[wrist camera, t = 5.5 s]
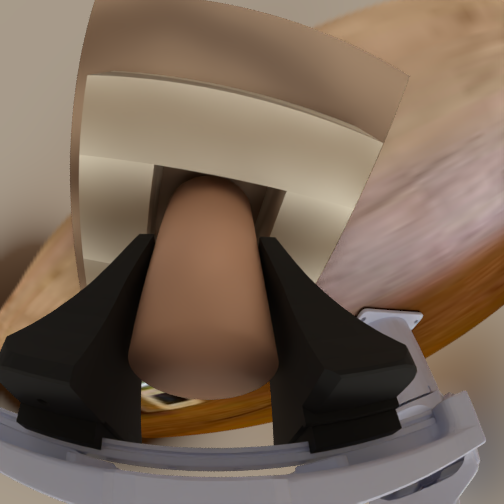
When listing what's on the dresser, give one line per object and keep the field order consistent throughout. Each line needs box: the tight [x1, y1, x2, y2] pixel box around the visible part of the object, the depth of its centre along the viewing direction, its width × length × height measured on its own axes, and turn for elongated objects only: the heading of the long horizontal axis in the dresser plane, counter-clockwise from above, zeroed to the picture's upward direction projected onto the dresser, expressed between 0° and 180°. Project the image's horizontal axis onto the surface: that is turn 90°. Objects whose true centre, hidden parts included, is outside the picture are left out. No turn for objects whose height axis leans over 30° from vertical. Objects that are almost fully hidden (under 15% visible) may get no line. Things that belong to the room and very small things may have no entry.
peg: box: [128, 176, 279, 400], centre depth 10 cm, size 4×4×8 cm
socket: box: [70, 0, 410, 290], centre depth 14 cm, size 20×16×4 cm
